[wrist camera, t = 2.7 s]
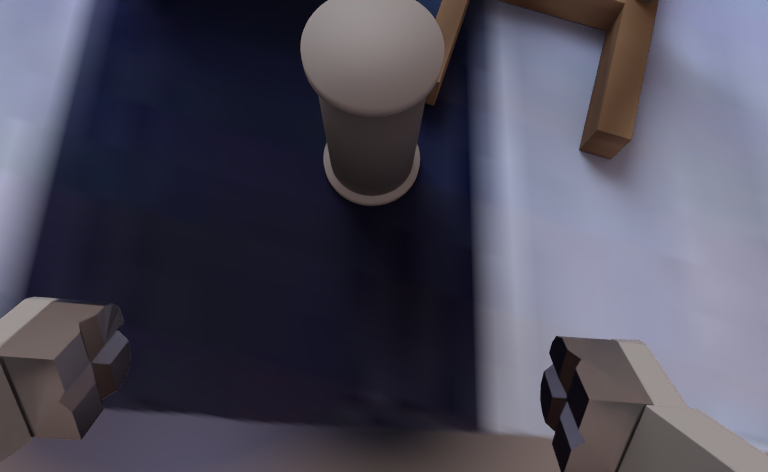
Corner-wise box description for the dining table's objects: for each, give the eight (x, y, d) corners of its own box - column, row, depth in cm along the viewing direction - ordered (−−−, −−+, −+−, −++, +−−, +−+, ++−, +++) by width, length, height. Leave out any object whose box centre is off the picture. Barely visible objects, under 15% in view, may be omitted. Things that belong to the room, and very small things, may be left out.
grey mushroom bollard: (310, 189, 29) (278, 83, 19) (343, 109, 31) (330, -28, 20) (402, 218, 28) (420, 127, 18) (430, 135, 30) (461, 10, 20)
